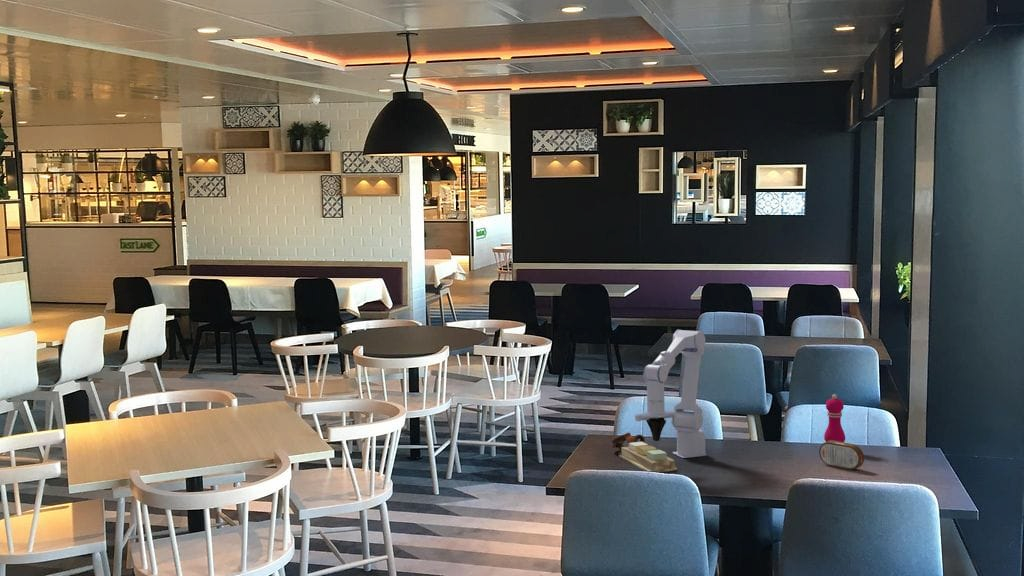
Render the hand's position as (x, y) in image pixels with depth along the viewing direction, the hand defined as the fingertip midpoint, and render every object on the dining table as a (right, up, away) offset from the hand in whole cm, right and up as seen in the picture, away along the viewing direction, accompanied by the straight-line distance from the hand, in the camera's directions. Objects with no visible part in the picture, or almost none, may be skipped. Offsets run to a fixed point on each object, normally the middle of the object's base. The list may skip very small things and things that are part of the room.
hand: (656, 440), depth 334 cm
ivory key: (-4, -6, +14) cm, 15 cm away
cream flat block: (-2, -6, +7) cm, 9 cm away
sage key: (0, -6, 0) cm, 6 cm away
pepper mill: (+66, -7, +20) cm, 70 cm away
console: (-2, -9, +7) cm, 12 cm away
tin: (+61, -9, -4) cm, 61 cm away
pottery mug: (-6, -8, +24) cm, 26 cm away
